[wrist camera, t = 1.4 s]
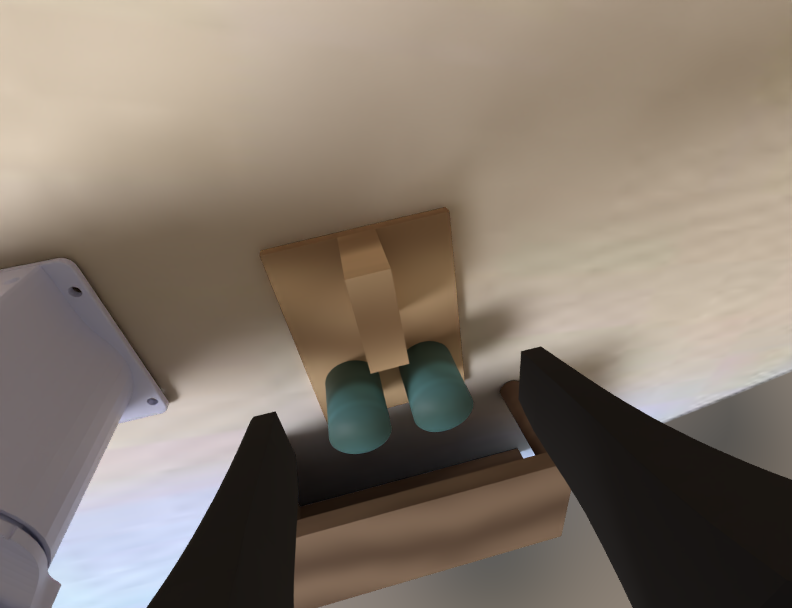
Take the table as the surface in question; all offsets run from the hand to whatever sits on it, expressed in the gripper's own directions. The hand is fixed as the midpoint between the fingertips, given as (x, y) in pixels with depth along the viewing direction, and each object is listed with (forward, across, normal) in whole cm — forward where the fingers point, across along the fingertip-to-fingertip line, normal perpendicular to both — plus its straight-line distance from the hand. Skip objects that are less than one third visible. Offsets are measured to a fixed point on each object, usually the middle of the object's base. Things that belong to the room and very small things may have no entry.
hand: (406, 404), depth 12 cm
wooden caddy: (+10, 0, +16) cm, 19 cm away
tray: (+10, 0, +4) cm, 11 cm away
